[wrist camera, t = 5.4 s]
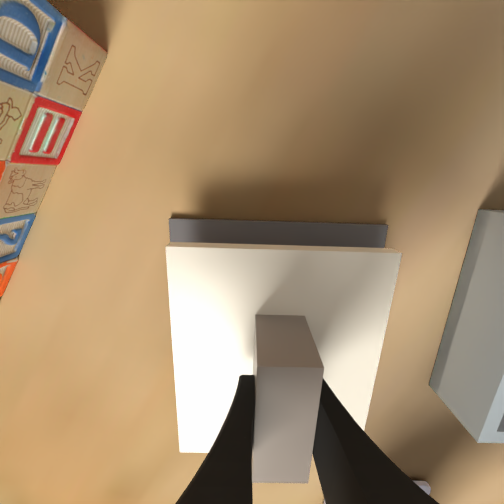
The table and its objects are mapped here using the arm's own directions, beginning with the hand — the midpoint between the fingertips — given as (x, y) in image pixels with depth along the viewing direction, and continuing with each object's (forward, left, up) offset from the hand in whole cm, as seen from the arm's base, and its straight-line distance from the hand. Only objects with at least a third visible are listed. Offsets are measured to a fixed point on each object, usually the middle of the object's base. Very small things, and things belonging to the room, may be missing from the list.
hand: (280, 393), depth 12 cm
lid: (0, 0, -3) cm, 3 cm away
